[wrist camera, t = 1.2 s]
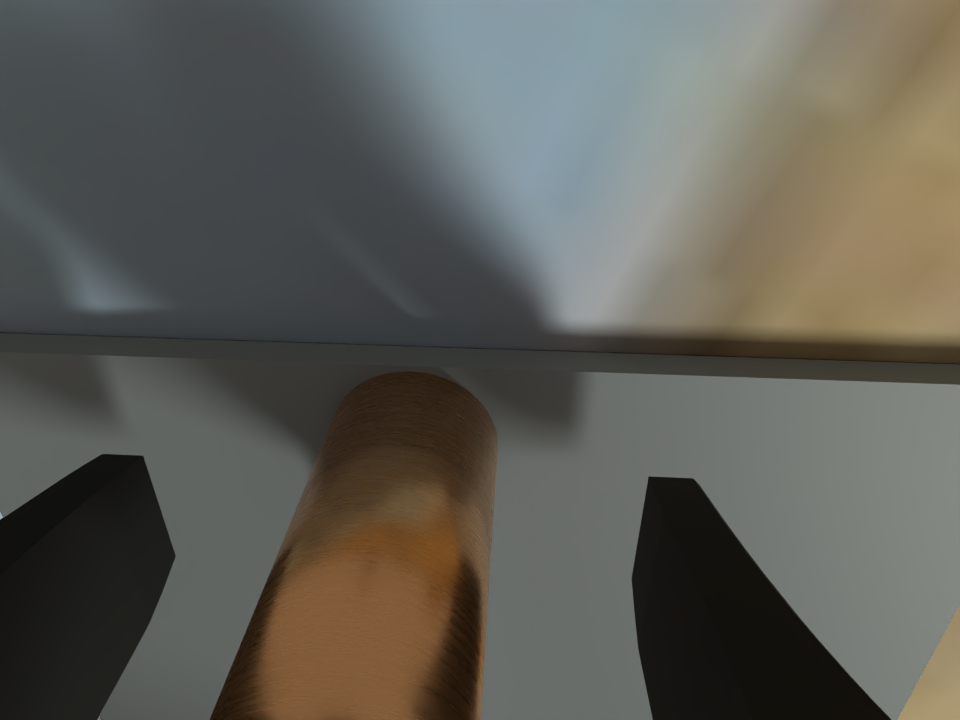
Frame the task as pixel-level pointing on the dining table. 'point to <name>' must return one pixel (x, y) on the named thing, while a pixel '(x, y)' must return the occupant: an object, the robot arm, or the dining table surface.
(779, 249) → the dining table surface
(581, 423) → the board
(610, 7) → the dining table surface
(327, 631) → the lever
